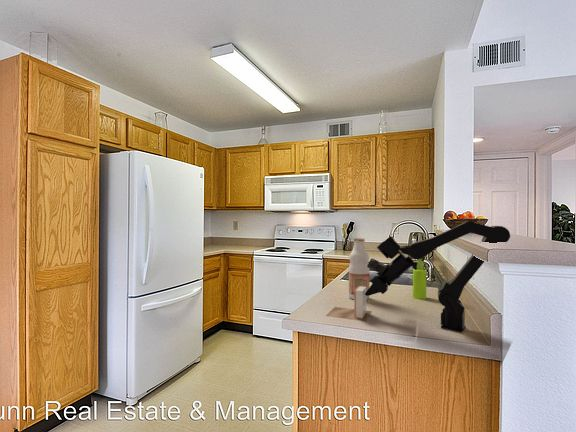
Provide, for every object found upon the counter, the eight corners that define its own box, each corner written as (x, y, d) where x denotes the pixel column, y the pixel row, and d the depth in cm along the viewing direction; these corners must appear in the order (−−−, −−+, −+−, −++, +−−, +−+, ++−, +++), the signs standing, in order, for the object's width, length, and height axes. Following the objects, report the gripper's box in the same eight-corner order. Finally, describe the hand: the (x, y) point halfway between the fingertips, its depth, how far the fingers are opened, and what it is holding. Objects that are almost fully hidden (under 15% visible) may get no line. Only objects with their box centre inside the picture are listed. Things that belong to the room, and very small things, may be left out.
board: (371, 312, 125) (371, 311, 125) (365, 322, 113) (365, 321, 113) (334, 308, 131) (334, 306, 131) (325, 317, 119) (325, 315, 119)
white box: (366, 312, 123) (366, 286, 123) (362, 318, 116) (362, 291, 116) (358, 311, 125) (358, 286, 125) (354, 317, 117) (354, 290, 117)
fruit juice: (344, 297, 149) (344, 238, 149) (358, 294, 154) (358, 237, 154) (359, 301, 141) (359, 239, 141) (373, 299, 146) (373, 238, 146)
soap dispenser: (430, 299, 146) (430, 256, 146) (415, 299, 146) (415, 256, 146) (425, 296, 152) (425, 254, 152) (411, 296, 152) (411, 254, 152)
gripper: (383, 249, 126) (355, 274, 131) (377, 254, 109) (345, 283, 113) (404, 270, 123) (375, 295, 127) (400, 279, 106) (367, 307, 110)
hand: (365, 294), depth 120 cm, fingers closed
